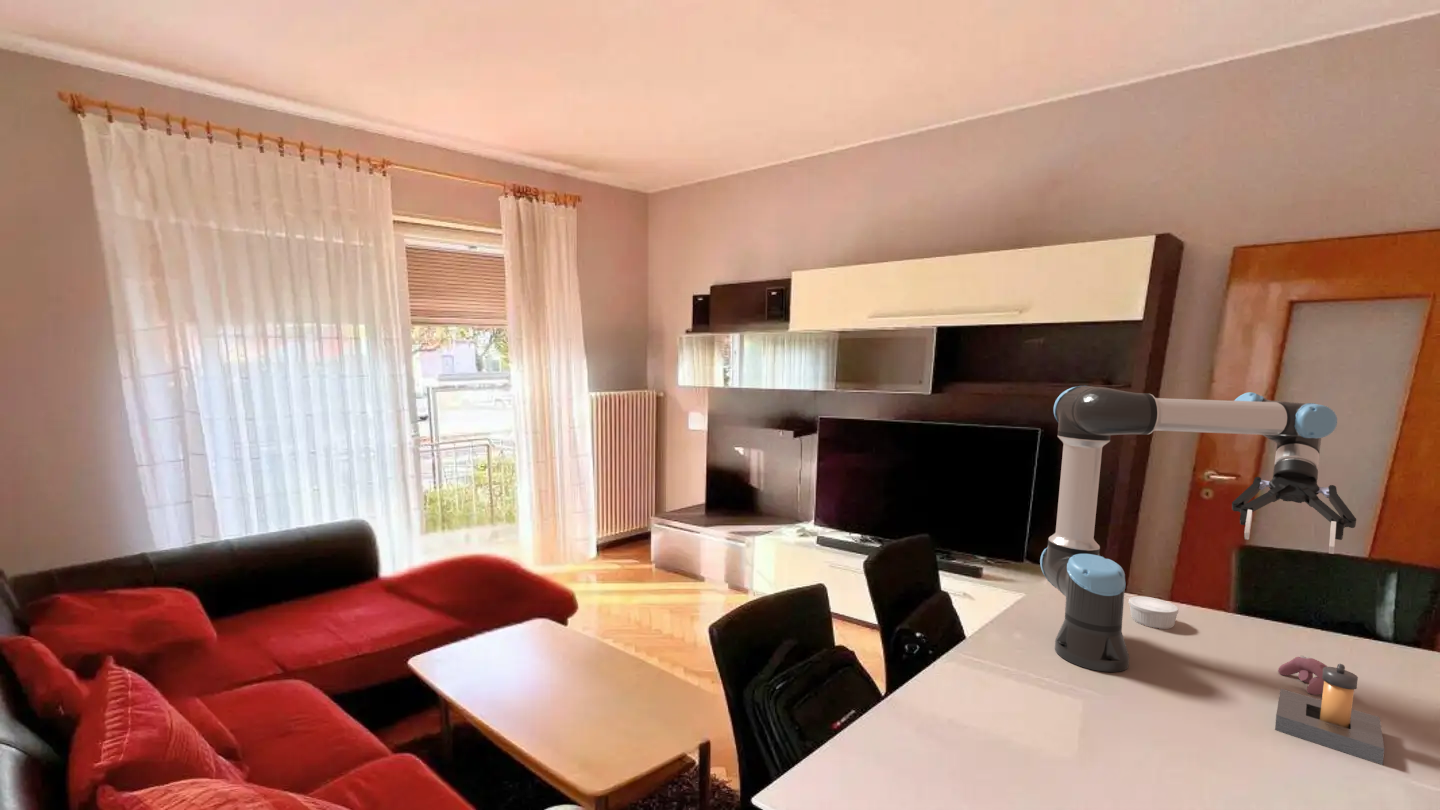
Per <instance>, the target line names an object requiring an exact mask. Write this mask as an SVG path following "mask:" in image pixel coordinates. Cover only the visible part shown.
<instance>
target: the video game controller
mask: <svg viewBox="0 0 1440 810" xmlns="http://www.w3.org/2000/svg"><path fill="white" fill-rule="evenodd" d="M1324 667H1329V666H1328V665H1326V664H1325V663H1324V662H1321V661H1319V660H1317V659H1315V658H1312V657H1310V656H1309V657H1308V656H1305V655H1299V656H1296V657H1294V658H1293V659H1290V660H1289V661H1287V662H1285V663H1283V664H1281V665H1280V666H1279V667H1278V669H1277V672H1278V674H1279V675H1281V676H1291V675H1295V674H1298V676H1297V678H1298V679H1299V680H1301V681H1302V682H1304V683H1306V684H1308V685H1307V687H1306V692H1307V693H1308V694H1309V695H1313V696H1316V695H1318V696H1319V695H1321V694H1322V695H1323V686H1324V680H1323V679H1322V675H1323V668H1324ZM1314 675H1315V677H1314Z"/></svg>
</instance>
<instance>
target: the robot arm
mask: <svg viewBox="0 0 1440 810" xmlns="http://www.w3.org/2000/svg"><path fill="white" fill-rule="evenodd" d="M1053 415H1054V419H1055V420H1056V423H1058V427H1057V438H1058V439H1059V440H1060V441H1061V442H1062V444H1063V446H1062V457H1061V458H1062V459H1061V468H1060V469H1061V470H1060V480H1059V489H1058V490H1059V491H1058V502H1057V513H1056V525H1055V532H1054V533H1053V534H1052V535H1050V536H1049V537H1048V540H1047V547H1045V548H1044V549H1043V551H1042V552H1041V555H1040V559H1039V563H1040V569H1041V572H1042V574H1043V576H1044V577H1045V579H1046V580H1047V582H1049V583H1050V585H1051V586H1053V587H1054V588H1055V589H1057V590H1058V591H1059V593H1061V594H1062V595H1063V596H1064V597H1065V604H1064V605H1065V607H1064V611H1065V612H1064V619H1063V622H1062V625H1061V626H1060V628H1059V631H1058V633H1057V634H1056V637H1055V641H1054V651H1055V652H1056V654H1057V655H1058V656H1059V657H1061V658H1062V659H1064V660H1066V661H1067V662H1069V663H1071V664H1073V665H1076V666H1079V667H1082V668H1084V669H1088V670H1093V671H1098V672H1104V673H1117V672H1118V673H1119V672H1122V671H1126V670H1127V669H1128V668H1129V665H1130V664H1129V663H1130V656H1129V652H1128V648H1127V645H1126V642H1125V638H1124V635H1123V617H1124V616H1123V615H1124V603H1125V592H1126V591H1125V589H1126V574H1125V573H1126V572H1125V571H1124V569H1123V567H1122V566H1121V565H1120V564H1119V563H1117V562H1115V561H1114V560H1112V559H1110V558H1105V557H1104V556H1103V555H1102V556H1101V555H1100V550H1101V546H1100V544H1098V543H1097V541H1096V540H1095V538H1094V536H1095V529H1096V528H1095V527H1096V526H1095V525H1096V516H1097V515H1096V514H1097V506H1098V495H1099V486H1100V485H1099V484H1100V474H1101V473H1100V472H1101V464H1102V453H1103V447H1104V446H1106V445H1107V444H1108V443H1110V442H1111V436H1117V435H1118V436H1119V435H1120V436H1121V435H1144V436H1145V435H1150V434H1152V433H1153V432H1155V431H1158V432H1159V431H1160V432H1161V431H1162V432H1185V433H1186V432H1188V433H1206V434H1207V433H1208V434H1209V433H1212V434H1231V435H1232V434H1234V435H1235V434H1236V435H1237V434H1238V435H1257V436H1258V435H1261V436H1263V437H1265V438H1266V439H1269V440H1270V441H1272V442H1274V443H1275V444H1276V448H1275V457H1274V466H1273V472H1272V479H1271V480H1264V479H1262V477H1260V476H1256V477H1254V478H1253V482H1252V484H1250V485H1249V487H1247V488H1246V489H1245V490H1244V491H1243V492H1241V494H1239V495H1238V496H1237V497H1236V498H1235V499H1234V500H1233V501H1232V502H1231V510H1232V511H1233V512H1239V513H1240V514H1239V515H1240V516H1239V524H1240V525H1242V526H1244V531H1243V532H1244V534H1243V535H1244V536H1243V537H1244V540H1250V535H1251V527H1252V521H1253V512H1256V511H1257V510H1259V509H1261V508H1263V507H1265V506H1267V505H1269V504H1271V503H1276V502H1277V501H1279V500H1282V501H1283V502H1293V503H1298V504H1302V503H1305V504H1307V505H1308V506H1309V507H1310V508H1313V509H1314V510H1315V511H1316V512H1317V513H1318V514H1320V515H1321V516H1322V517H1323V518H1324V519H1326V520H1327V521H1328V522H1329V523H1330V530H1329V531H1330V532H1329V542H1328V543H1329V548H1328V554H1333V555H1334V554H1335V548H1336V547H1335V546H1336V545H1335V544H1336V540H1339V541H1342V540H1343V538H1344V529H1345V528H1349V529H1354V528H1355V527H1356V525H1357V518H1356V517H1355V515H1354V513H1352V511H1351V510H1350V509H1349V508H1348V505H1346V504H1345V502H1344V501H1343V499H1342V498H1341V497H1340V495H1339V493H1338V492H1337V486H1336V485H1333V484H1329V486H1327V487H1326V486H1325V487H1324V486H1319V485H1318V476H1319V466H1320V464H1319V463H1320V453H1321V444H1322V443H1321V442H1322V438H1326V437H1328V436H1329V435H1331V434H1332V433H1333V432H1334V431H1335V430H1336V429H1337V425H1338V417H1337V414H1336V412H1335V411H1334V410H1333V409H1332V408H1330V407H1329V406H1326V405H1323V404H1319V403H1318V404H1317V403H1316V402H1315V403H1313V402H1312V403H1311V402H1310V403H1309V402H1307V403H1305V402H1293V401H1292V402H1291V401H1281V400H1270V399H1268V398H1265V397H1264V395H1260V394H1258V393H1256V392H1252V391H1251V392H1248V391H1247V392H1245V393H1243V394H1241V395H1239V396H1237V397H1236V398H1235V399H1234V400H1224V399H1223V400H1222V399H1198V398H1197V399H1193V398H1192V399H1190V398H1189V399H1188V398H1164V397H1163V398H1162V397H1161V398H1159V397H1155V396H1154V395H1153V394H1151V393H1144V392H1143V393H1142V392H1131V391H1127V390H1126V391H1124V390H1119V389H1115V388H1109V387H1102V386H1091V385H1079V386H1072V387H1070V388H1068V389H1066V390H1064V391H1062V392H1061V393H1060V394H1059V396H1058V397H1057V398H1055V402H1054V404H1053ZM1265 488H1269V490H1268V491H1267V492H1265V493H1263V494H1261V495H1260V496H1258V497H1255V496H1256V495H1257V494H1259V492H1260V491H1263V490H1264V489H1265ZM1319 494H1322V495H1323V496H1324V497H1325V498H1327V499H1328V501H1329V503H1330V504H1331V505H1332V506H1333V509H1332V508H1331V507H1330V506H1329V505H1327V504H1326V503H1325V502H1323V500H1321V498H1319V496H1318V495H1319ZM1254 497H1255V498H1254ZM1253 498H1254V499H1253ZM1334 509H1335V511H1334Z"/></svg>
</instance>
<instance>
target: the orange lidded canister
mask: <svg viewBox="0 0 1440 810" xmlns="http://www.w3.org/2000/svg"><path fill="white" fill-rule="evenodd" d="M1322 679H1323V680H1324V686H1323V693H1322V697H1321V700H1322V704H1321V712H1320V720H1322V721H1325V722H1329V723H1332V724H1335V725H1338V726H1342V727H1345V728H1348V729H1349V728H1350V720H1351V711H1352V709H1353V702H1354V701H1353V700H1354V693H1355V690H1356V689H1357V688H1358V679H1359V677H1358V676H1357V675H1356V674H1355V673H1353V672H1350V671H1349V670H1346V668H1345V665H1344V664H1342V663H1338V664H1337V666H1336V667H1334V666H1328V667H1324V668H1323V675H1322Z"/></svg>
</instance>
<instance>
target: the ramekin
mask: <svg viewBox="0 0 1440 810" xmlns="http://www.w3.org/2000/svg"><path fill="white" fill-rule="evenodd" d="M1128 605H1129V611H1130V616H1131V618H1132V620H1133V619H1134V620H1135V621H1134V622H1136V621H1137V622H1138V624H1139V623H1141V624H1140V625H1142V624H1143V625H1142V626H1145V625H1146V626H1145V627H1148V626H1149V627H1148V628H1152V627H1153V628H1152V629H1157V628H1159V630H1168V629H1171V628H1173V627H1174V626H1175V625H1176V620H1177V616H1178V613H1179V607H1178V606H1177V605H1175V604H1174V603H1172V602H1170V601H1166V600H1163V599H1159V598H1156V597H1155V598H1154V597H1150V596H1132V597H1129V598H1128ZM1137 622H1136V623H1137Z"/></svg>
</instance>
